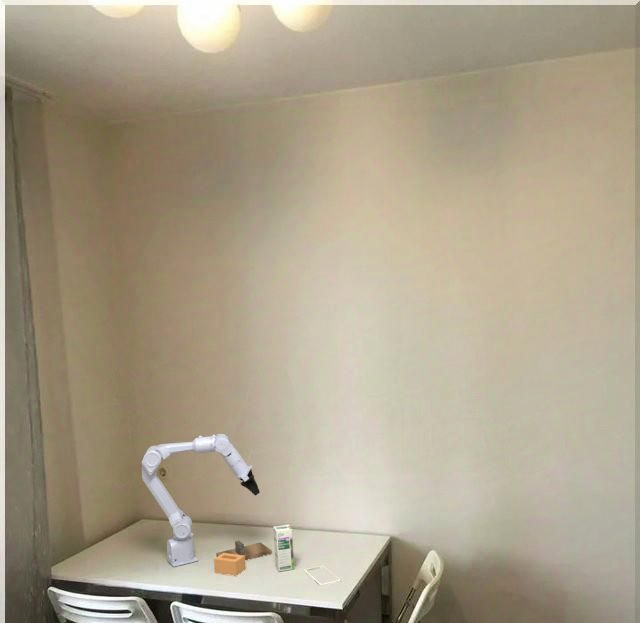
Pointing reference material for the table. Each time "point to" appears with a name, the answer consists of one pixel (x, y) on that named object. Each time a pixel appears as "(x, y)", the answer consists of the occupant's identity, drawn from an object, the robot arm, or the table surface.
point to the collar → (229, 564)
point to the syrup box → (283, 547)
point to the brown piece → (248, 550)
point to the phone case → (326, 570)
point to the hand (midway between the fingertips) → (256, 491)
